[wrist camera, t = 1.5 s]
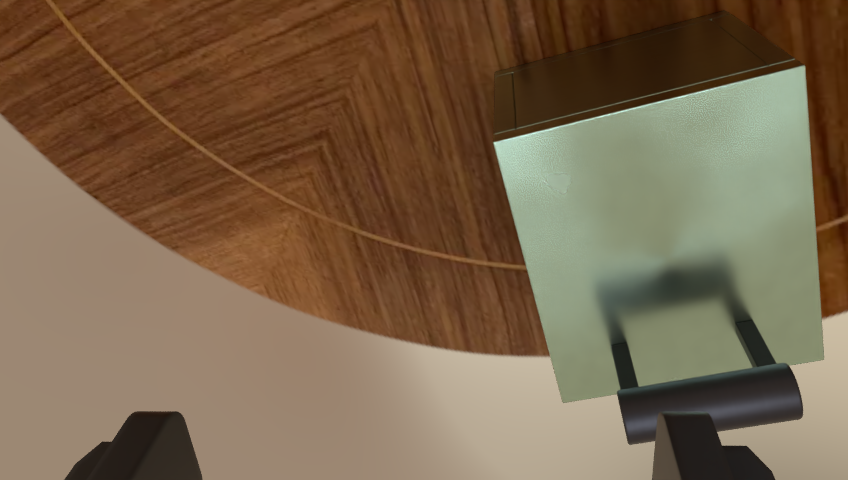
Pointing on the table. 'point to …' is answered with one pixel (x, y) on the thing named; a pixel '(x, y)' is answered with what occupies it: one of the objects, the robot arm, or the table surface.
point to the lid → (675, 248)
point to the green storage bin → (629, 69)
